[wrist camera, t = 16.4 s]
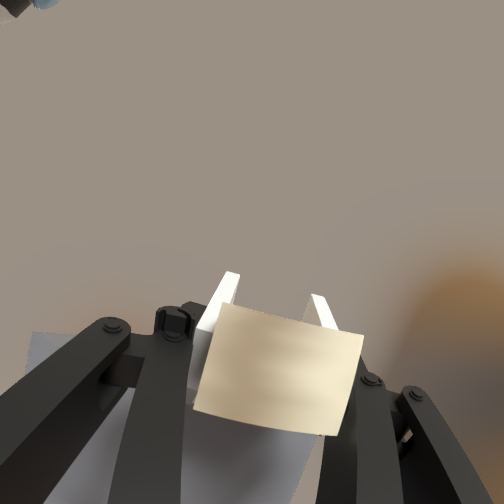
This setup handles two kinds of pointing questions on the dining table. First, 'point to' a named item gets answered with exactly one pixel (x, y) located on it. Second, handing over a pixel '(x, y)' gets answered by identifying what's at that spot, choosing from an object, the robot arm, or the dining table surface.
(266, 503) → the grey tall rectangular block
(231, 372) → the birch bar
